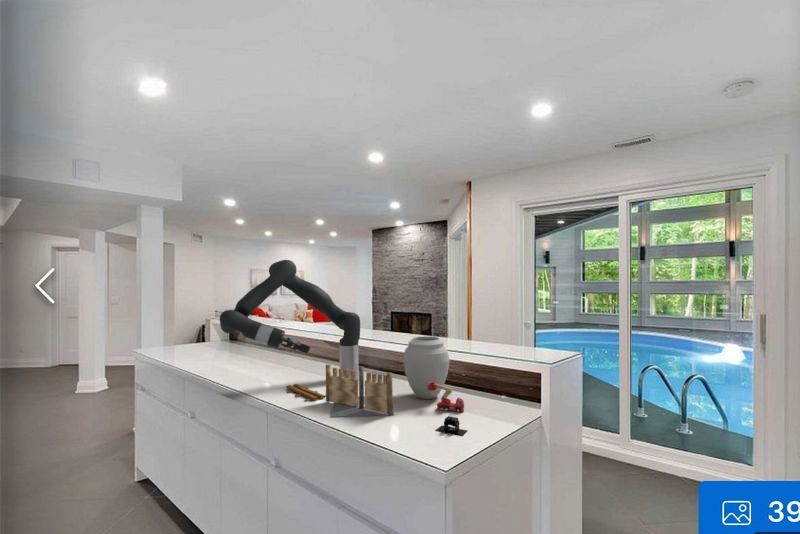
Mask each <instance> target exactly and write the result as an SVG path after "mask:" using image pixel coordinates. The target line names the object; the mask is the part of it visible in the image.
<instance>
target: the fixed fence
mask: <svg viewBox="0 0 800 534" xmlns="http://www.w3.org/2000/svg"><path fill="white" fill-rule="evenodd" d="M364 368H365V367H364V366H363V365H362V366H358V396H359V408H360V409H363V408H364V396H365V409H370V410H375V411H380V412H385V413H387V414H389V415H387V416H390V417H391V416H393V415H392V414H393V410H394V405H393V397H394V396H393V372H387V373H386V374H382V373H376V372H373V373H372V372H366V375H365V371H364ZM365 376H366V380H365Z"/></svg>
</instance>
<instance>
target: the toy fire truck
mask: <svg viewBox="0 0 800 534" xmlns="http://www.w3.org/2000/svg"><path fill="white" fill-rule="evenodd" d="M436 388H440V389H441V390H444V391H445V392H444V393H443V395H442V396H441V398H440V401H438V402H437V403H436V409H437V410H440V411H446V412H448V411H453V412H457V413H460V412H461V413H463V412H465V401H464V399H462V398H460V397H457V398H456V400H455V402H452V401H451V399H450V398H448V397H449V396H450V395H451V393H452V392H453V390H452V388H450V387H447V386H445V385H444V386H442V385H439V384H437V382H434V383H430V384H429V385H428V390H432V391H435V390H436Z"/></svg>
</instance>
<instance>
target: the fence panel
mask: <svg viewBox="0 0 800 534" xmlns="http://www.w3.org/2000/svg"><path fill="white" fill-rule="evenodd" d="M331 366H332V365H331V364H326V365H325V395H326V398H325V402H327V403H329V402H331V403H333V404H334V403H339V404H344V405H349V406H355V407H357V406H358V396H359V378H358V379H355V370H351V378H349V369H345V370H344V371H345V377H343V369H341V368H340V367H339V368H338V367H331Z"/></svg>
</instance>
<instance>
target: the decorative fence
mask: <svg viewBox="0 0 800 534" xmlns="http://www.w3.org/2000/svg"><path fill="white" fill-rule="evenodd" d="M285 387H286V389H288V390H287V391H286V392H287V394H291V393H297V394H296V395H294V397H295V398H301V397H306V398H307V399H304V400H303V401H304V402H305V401H309V402H312V401H311V400H313V401H317V400H321V399H326V398H325V397H326V394H322V393H319V392H318V391H317V390H311V389H310V388H309V387H308V386H307V387H304V386H303V385H299V384H298V383H294V384H292V385H290V384H289V385H286V386H285ZM286 392H285V393H286ZM300 396H301V397H300ZM320 398H321V399H320Z"/></svg>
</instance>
